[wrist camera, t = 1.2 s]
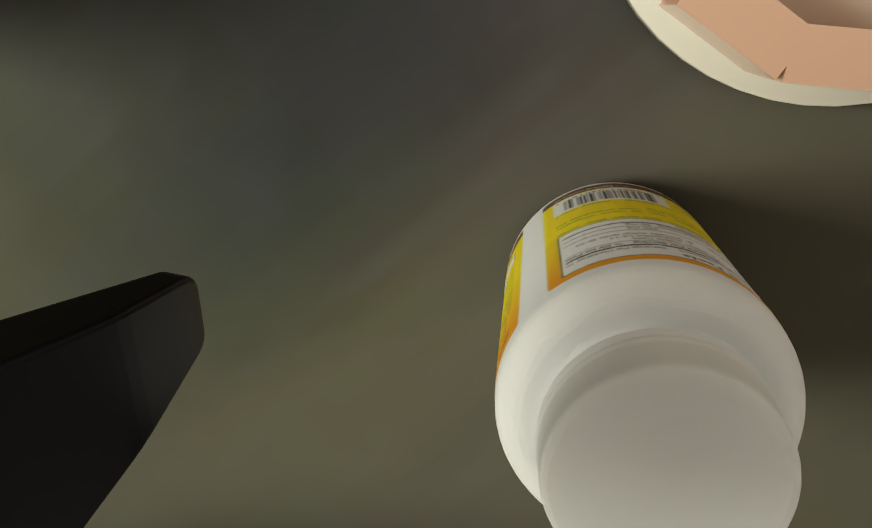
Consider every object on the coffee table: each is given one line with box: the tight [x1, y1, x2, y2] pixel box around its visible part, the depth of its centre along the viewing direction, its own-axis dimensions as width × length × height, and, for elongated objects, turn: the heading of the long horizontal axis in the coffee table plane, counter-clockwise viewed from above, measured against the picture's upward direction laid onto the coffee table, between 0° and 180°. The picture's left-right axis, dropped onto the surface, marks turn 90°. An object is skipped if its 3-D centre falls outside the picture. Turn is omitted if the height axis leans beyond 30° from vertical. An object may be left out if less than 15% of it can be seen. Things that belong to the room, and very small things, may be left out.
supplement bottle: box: [495, 182, 806, 528], centre depth 17 cm, size 6×6×10 cm
